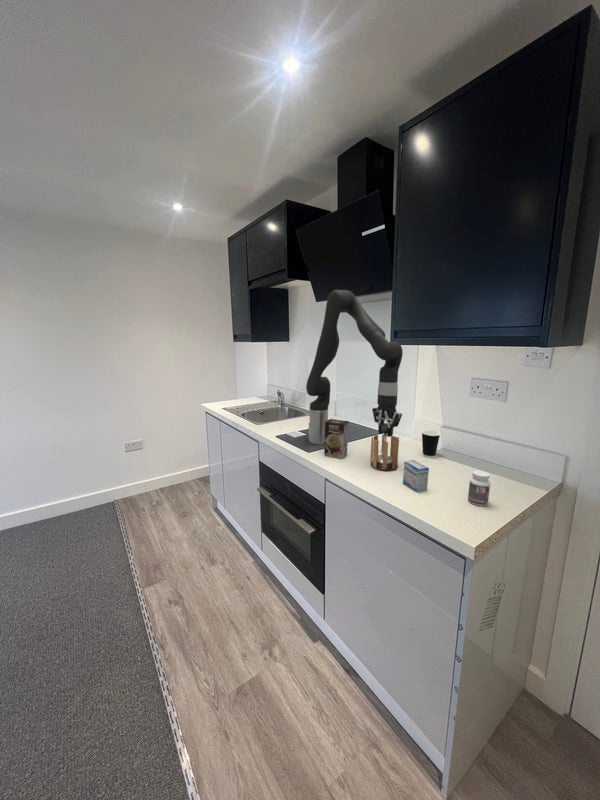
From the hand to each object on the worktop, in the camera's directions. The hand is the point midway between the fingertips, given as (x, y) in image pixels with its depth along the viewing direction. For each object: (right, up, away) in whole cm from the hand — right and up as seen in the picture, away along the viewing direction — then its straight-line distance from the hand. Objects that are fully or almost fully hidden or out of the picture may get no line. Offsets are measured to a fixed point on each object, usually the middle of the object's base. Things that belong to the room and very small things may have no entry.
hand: (385, 434), depth 128 cm
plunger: (0, -11, +2) cm, 11 cm away
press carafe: (+1, -13, +3) cm, 14 cm away
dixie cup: (+23, -11, +14) cm, 30 cm away
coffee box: (-18, -11, +14) cm, 26 cm away
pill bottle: (+23, -19, -26) cm, 40 cm away
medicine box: (+6, -17, -16) cm, 24 cm away
